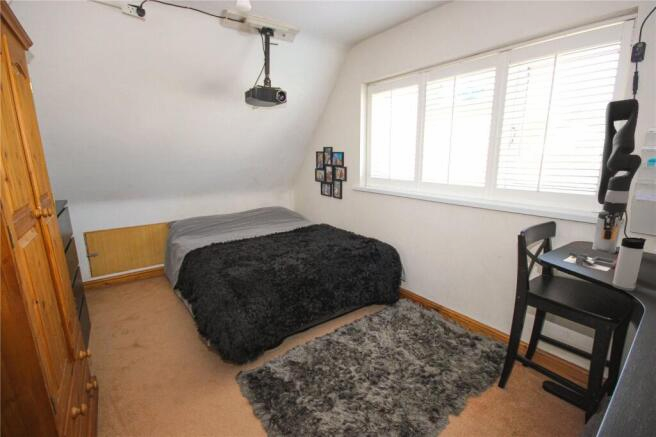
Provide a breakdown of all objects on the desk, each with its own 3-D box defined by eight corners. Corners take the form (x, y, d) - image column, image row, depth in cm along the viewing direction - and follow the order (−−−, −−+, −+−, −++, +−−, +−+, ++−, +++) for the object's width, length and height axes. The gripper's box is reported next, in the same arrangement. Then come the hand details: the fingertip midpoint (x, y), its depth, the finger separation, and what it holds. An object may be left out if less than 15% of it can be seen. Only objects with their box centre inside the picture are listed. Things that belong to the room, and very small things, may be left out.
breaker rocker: (572, 252, 147) (573, 250, 146) (593, 264, 141) (595, 261, 140) (569, 254, 145) (570, 252, 144) (590, 266, 139) (592, 263, 138)
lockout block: (603, 237, 142) (606, 225, 141) (615, 239, 139) (618, 226, 138) (601, 239, 140) (603, 226, 139) (612, 241, 137) (615, 228, 136)
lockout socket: (595, 259, 147) (596, 256, 147) (617, 264, 141) (618, 260, 141) (590, 262, 143) (590, 259, 143) (612, 268, 137) (613, 264, 136)
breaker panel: (573, 256, 155) (574, 253, 154) (616, 265, 142) (616, 262, 142) (562, 263, 146) (563, 259, 146) (606, 273, 134) (607, 269, 133)
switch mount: (580, 260, 146) (581, 253, 145) (586, 261, 144) (587, 255, 143) (575, 263, 142) (576, 256, 142) (581, 264, 140) (583, 257, 140)
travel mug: (639, 291, 117) (651, 241, 112) (619, 290, 118) (630, 240, 114) (627, 284, 123) (638, 236, 118) (608, 283, 124) (618, 235, 120)
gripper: (609, 198, 143) (602, 234, 146) (600, 201, 135) (592, 239, 138) (631, 200, 137) (623, 237, 140) (623, 203, 129) (614, 243, 132)
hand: (608, 238), depth 139 cm, fingers closed on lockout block, 4 cm apart
